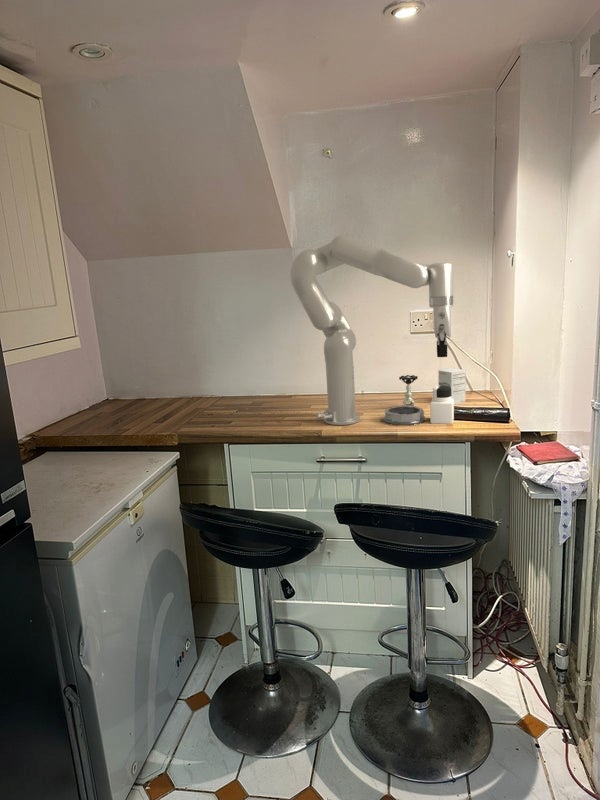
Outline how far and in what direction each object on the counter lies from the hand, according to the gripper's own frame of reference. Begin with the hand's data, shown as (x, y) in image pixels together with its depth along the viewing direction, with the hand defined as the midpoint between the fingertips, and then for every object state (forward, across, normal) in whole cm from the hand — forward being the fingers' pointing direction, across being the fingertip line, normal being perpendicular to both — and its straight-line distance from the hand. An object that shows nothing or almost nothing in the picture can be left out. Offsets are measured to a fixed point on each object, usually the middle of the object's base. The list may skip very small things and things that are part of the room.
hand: (441, 354), depth 189 cm
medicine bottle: (+23, 0, 0) cm, 23 cm away
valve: (+23, +19, +12) cm, 32 cm away
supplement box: (+23, +28, -4) cm, 36 cm away
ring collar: (+22, +1, +13) cm, 26 cm away
